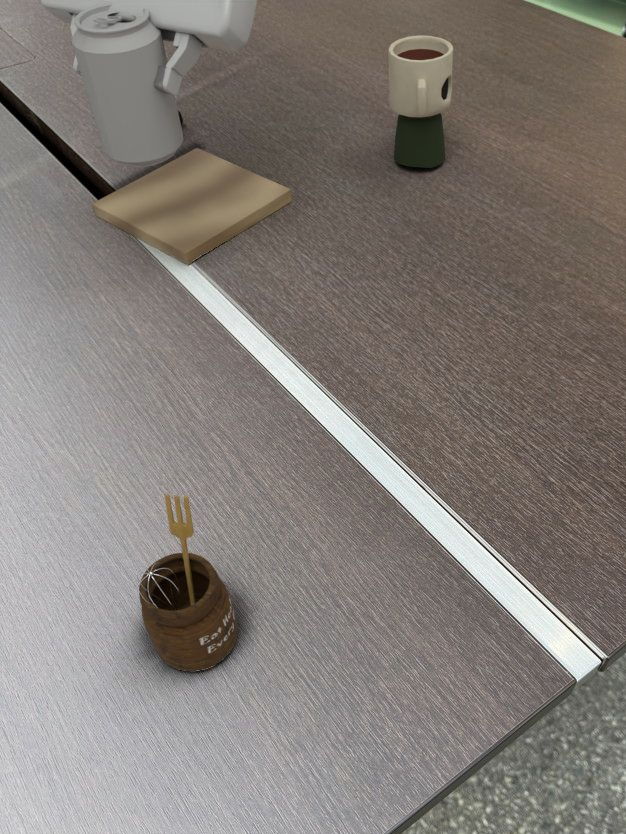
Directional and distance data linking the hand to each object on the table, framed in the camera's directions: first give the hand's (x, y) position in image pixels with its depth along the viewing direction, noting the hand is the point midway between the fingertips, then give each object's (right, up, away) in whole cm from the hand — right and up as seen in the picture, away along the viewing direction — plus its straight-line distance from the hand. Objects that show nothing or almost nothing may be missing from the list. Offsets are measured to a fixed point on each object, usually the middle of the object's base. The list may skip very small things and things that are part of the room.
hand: (124, 83), depth 74 cm
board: (+1, -3, +23) cm, 23 cm away
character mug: (+27, +4, +28) cm, 40 cm away
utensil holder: (+10, -47, -14) cm, 50 cm away
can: (0, -4, +5) cm, 7 cm away
